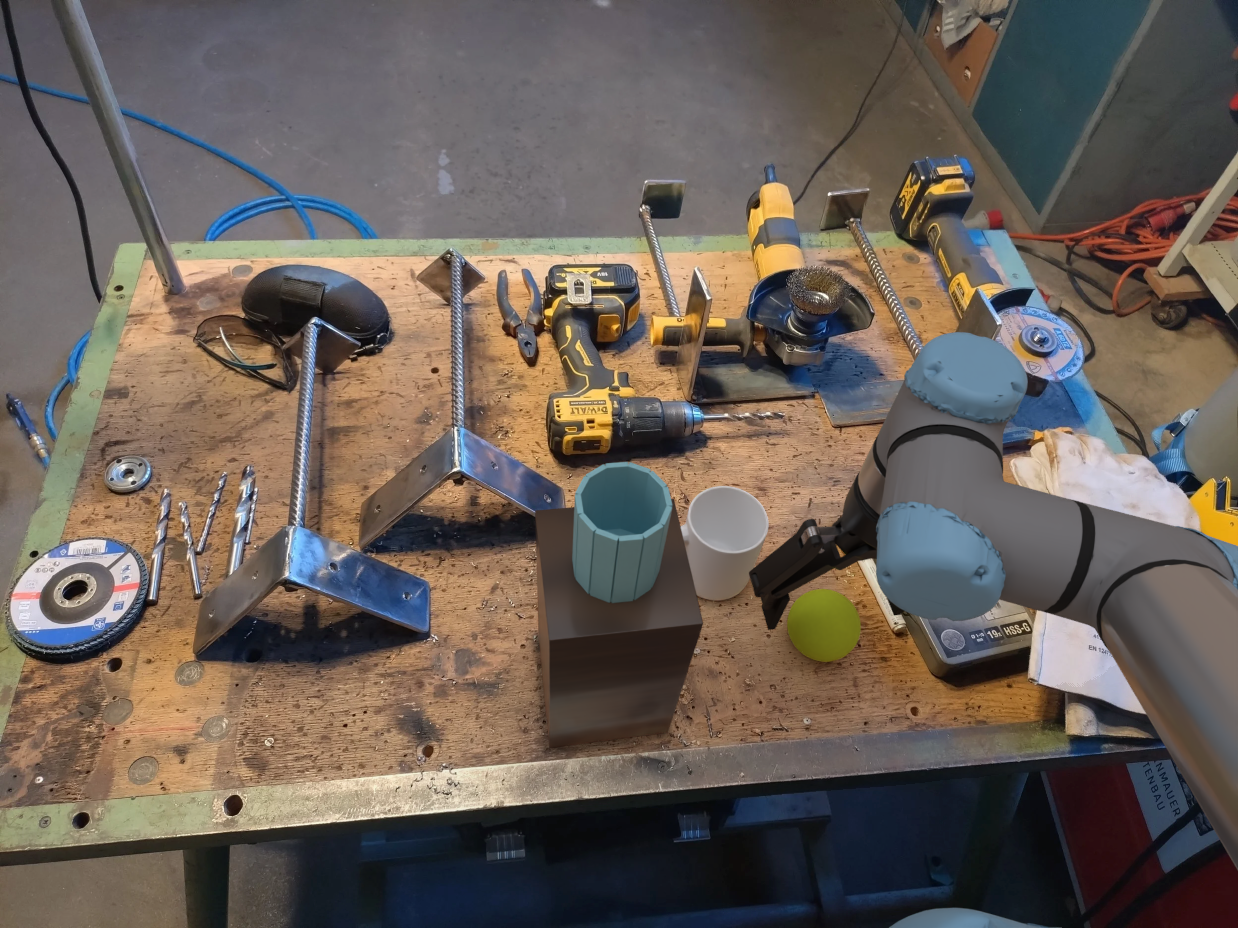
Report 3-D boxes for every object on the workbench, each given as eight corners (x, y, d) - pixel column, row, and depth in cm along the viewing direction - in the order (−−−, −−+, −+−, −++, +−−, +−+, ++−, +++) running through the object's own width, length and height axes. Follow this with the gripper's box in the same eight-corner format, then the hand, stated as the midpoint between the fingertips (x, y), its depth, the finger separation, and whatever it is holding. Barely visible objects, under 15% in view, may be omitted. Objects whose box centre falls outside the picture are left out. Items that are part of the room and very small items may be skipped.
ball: (858, 669, 87) (880, 637, 81) (790, 677, 86) (808, 646, 80) (836, 606, 91) (856, 572, 85) (772, 613, 90) (787, 579, 84)
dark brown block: (668, 732, 81) (703, 623, 62) (549, 748, 79) (548, 640, 60) (647, 625, 88) (674, 498, 69) (538, 637, 87) (535, 510, 68)
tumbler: (665, 597, 63) (679, 535, 56) (578, 606, 62) (582, 544, 55) (650, 525, 68) (661, 458, 60) (568, 532, 67) (570, 465, 59)
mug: (640, 545, 95) (649, 492, 86) (738, 535, 96) (756, 481, 88) (654, 610, 89) (665, 560, 81) (757, 598, 91) (778, 548, 83)
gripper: (1018, 445, 71) (929, 567, 87) (744, 468, 67) (706, 590, 84) (1059, 515, 66) (957, 630, 83) (768, 544, 63) (722, 657, 79)
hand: (830, 610), depth 83 cm, fingers open, 13 cm apart
